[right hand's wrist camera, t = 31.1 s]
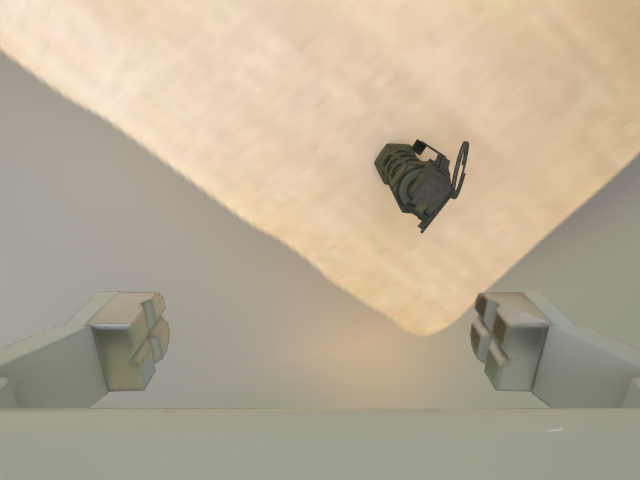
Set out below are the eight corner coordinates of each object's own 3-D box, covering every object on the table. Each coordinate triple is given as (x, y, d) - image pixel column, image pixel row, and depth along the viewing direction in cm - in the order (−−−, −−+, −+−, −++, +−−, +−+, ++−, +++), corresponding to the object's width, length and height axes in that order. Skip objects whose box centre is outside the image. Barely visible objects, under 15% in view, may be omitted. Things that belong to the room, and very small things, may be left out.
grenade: (403, 202, 47) (437, 252, 34) (363, 177, 46) (381, 218, 32) (449, 139, 45) (508, 165, 31) (408, 110, 43) (449, 124, 30)
